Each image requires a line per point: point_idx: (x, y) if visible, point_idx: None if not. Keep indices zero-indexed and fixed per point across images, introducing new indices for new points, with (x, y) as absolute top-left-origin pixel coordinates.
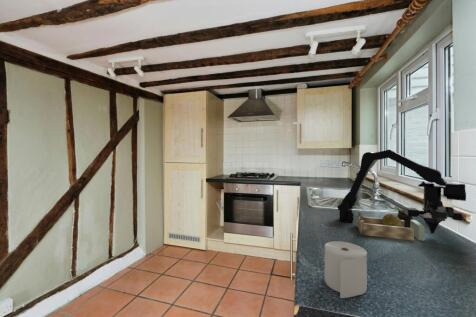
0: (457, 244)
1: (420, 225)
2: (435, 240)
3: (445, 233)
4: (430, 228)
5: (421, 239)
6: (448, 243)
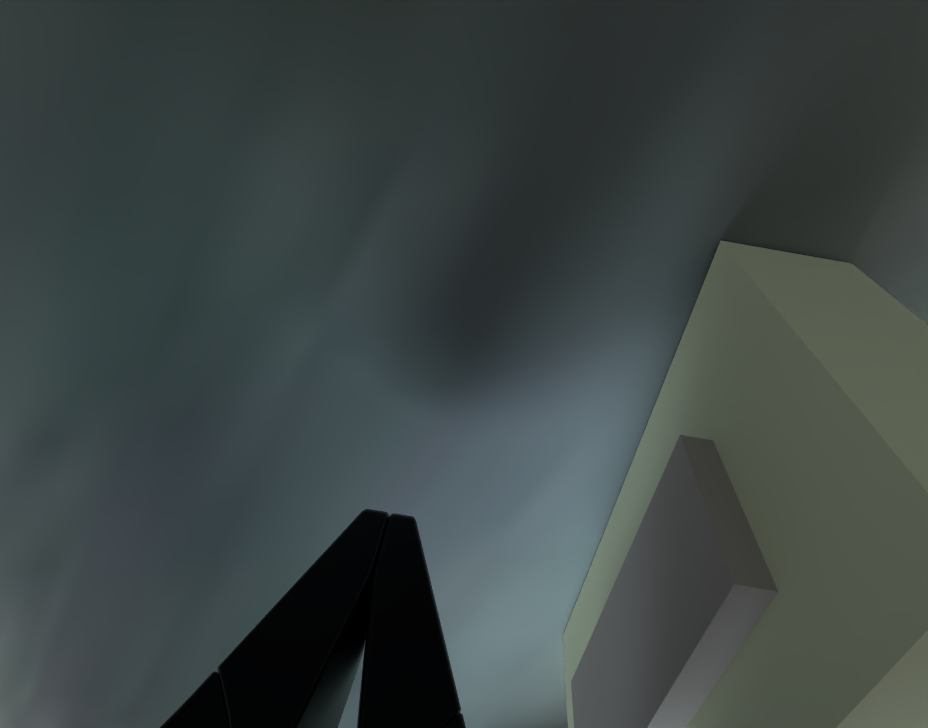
0: (9, 125)
1: None
2: (412, 314)
3: (73, 656)
4: (425, 627)
5: (803, 258)
6: (198, 154)
